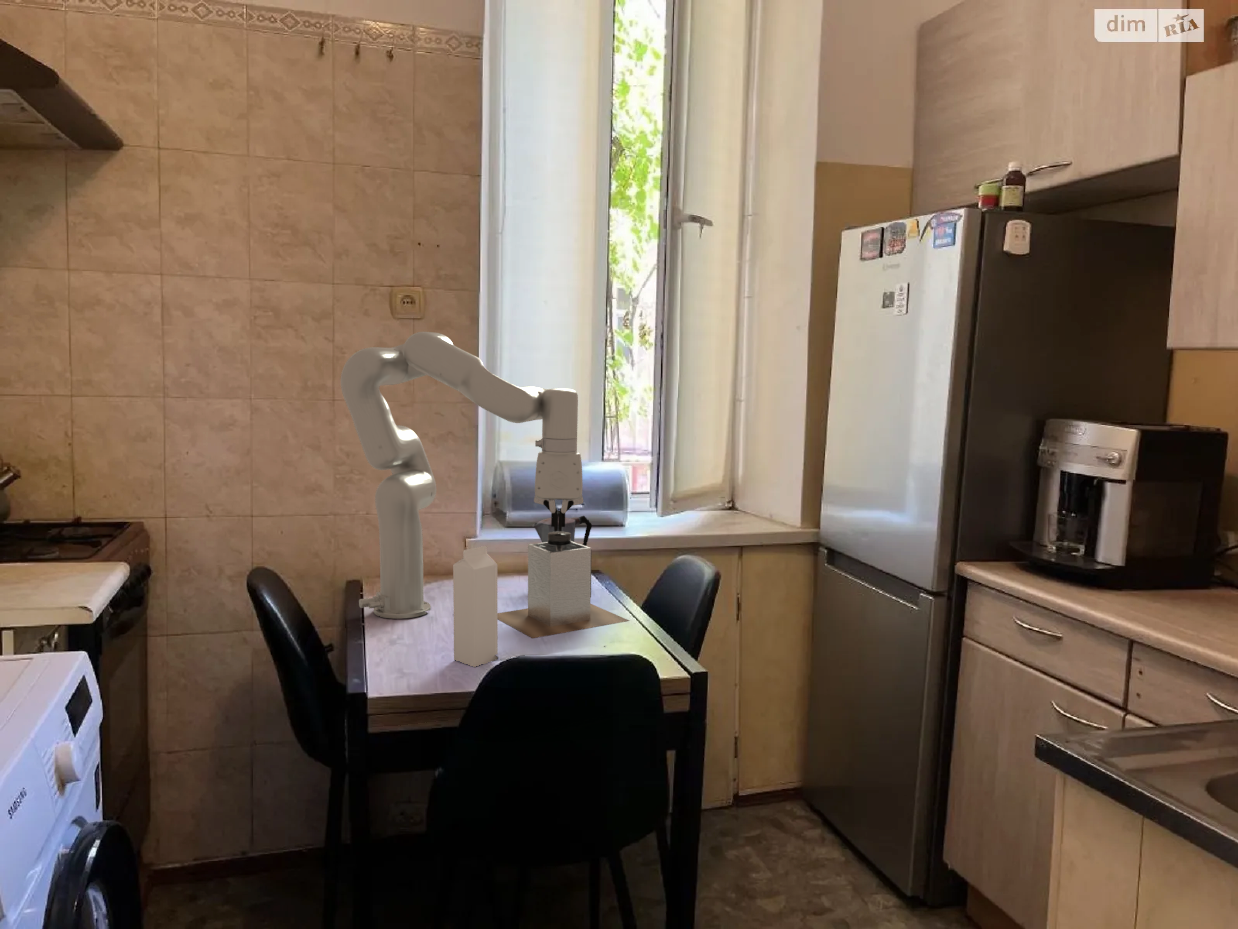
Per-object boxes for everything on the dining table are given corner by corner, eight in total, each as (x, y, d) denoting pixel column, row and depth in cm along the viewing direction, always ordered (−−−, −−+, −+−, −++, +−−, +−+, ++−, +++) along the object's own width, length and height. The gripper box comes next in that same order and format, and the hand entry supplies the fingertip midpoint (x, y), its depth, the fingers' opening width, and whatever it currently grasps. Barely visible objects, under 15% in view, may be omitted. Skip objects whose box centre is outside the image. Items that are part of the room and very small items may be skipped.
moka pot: (526, 586, 233) (526, 508, 230) (582, 580, 239) (583, 505, 237) (539, 595, 224) (539, 514, 222) (597, 589, 231) (598, 511, 228)
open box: (550, 626, 194) (550, 552, 192) (527, 615, 203) (528, 544, 201) (601, 617, 202) (602, 546, 200) (578, 607, 210) (578, 538, 208)
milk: (497, 660, 177) (498, 547, 174) (474, 668, 172) (474, 552, 169) (476, 653, 181) (477, 543, 178) (452, 660, 176) (452, 547, 173)
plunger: (552, 597, 195) (552, 538, 194) (534, 589, 202) (534, 532, 200) (584, 592, 199) (584, 535, 198) (565, 585, 206) (565, 529, 205)
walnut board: (532, 644, 187) (532, 638, 186) (489, 619, 203) (489, 614, 203) (629, 626, 200) (629, 620, 200) (581, 604, 216) (581, 599, 216)
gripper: (523, 447, 193) (522, 533, 195) (594, 448, 193) (592, 534, 196) (525, 443, 200) (524, 526, 202) (594, 445, 201) (592, 527, 203)
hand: (558, 530), depth 199 cm, fingers closed
